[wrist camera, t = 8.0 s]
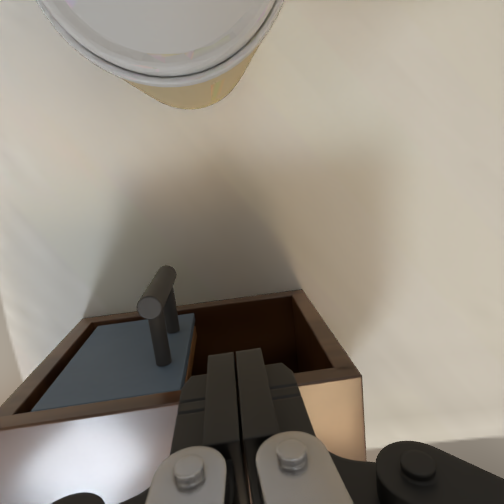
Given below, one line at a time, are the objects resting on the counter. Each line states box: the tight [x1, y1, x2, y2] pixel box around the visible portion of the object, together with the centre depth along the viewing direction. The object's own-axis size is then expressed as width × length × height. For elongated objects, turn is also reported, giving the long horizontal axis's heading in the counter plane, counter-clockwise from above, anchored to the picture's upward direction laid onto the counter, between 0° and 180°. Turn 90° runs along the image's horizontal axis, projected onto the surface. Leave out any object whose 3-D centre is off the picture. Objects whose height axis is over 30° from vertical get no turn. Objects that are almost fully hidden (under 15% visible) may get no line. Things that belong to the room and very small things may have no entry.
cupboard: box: [0, 289, 366, 504], centre depth 22 cm, size 10×16×12 cm, turn 96°
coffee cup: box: [36, 0, 284, 109], centre depth 18 cm, size 9×9×12 cm
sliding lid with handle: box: [31, 265, 195, 412], centre depth 21 cm, size 5×7×9 cm
